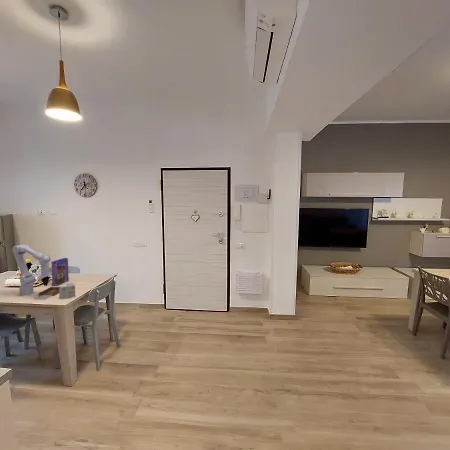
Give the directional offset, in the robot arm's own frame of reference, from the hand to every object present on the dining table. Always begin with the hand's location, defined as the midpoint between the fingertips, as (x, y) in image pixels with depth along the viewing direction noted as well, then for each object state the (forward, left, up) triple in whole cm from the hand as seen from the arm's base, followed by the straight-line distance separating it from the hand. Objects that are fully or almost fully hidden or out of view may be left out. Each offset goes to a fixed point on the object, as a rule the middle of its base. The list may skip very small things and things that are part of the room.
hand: (45, 285), depth 226 cm
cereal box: (-8, +36, -10) cm, 38 cm away
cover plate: (+1, -6, -10) cm, 11 cm away
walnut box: (+1, +7, -9) cm, 12 cm away
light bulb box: (+20, -2, -10) cm, 22 cm away
